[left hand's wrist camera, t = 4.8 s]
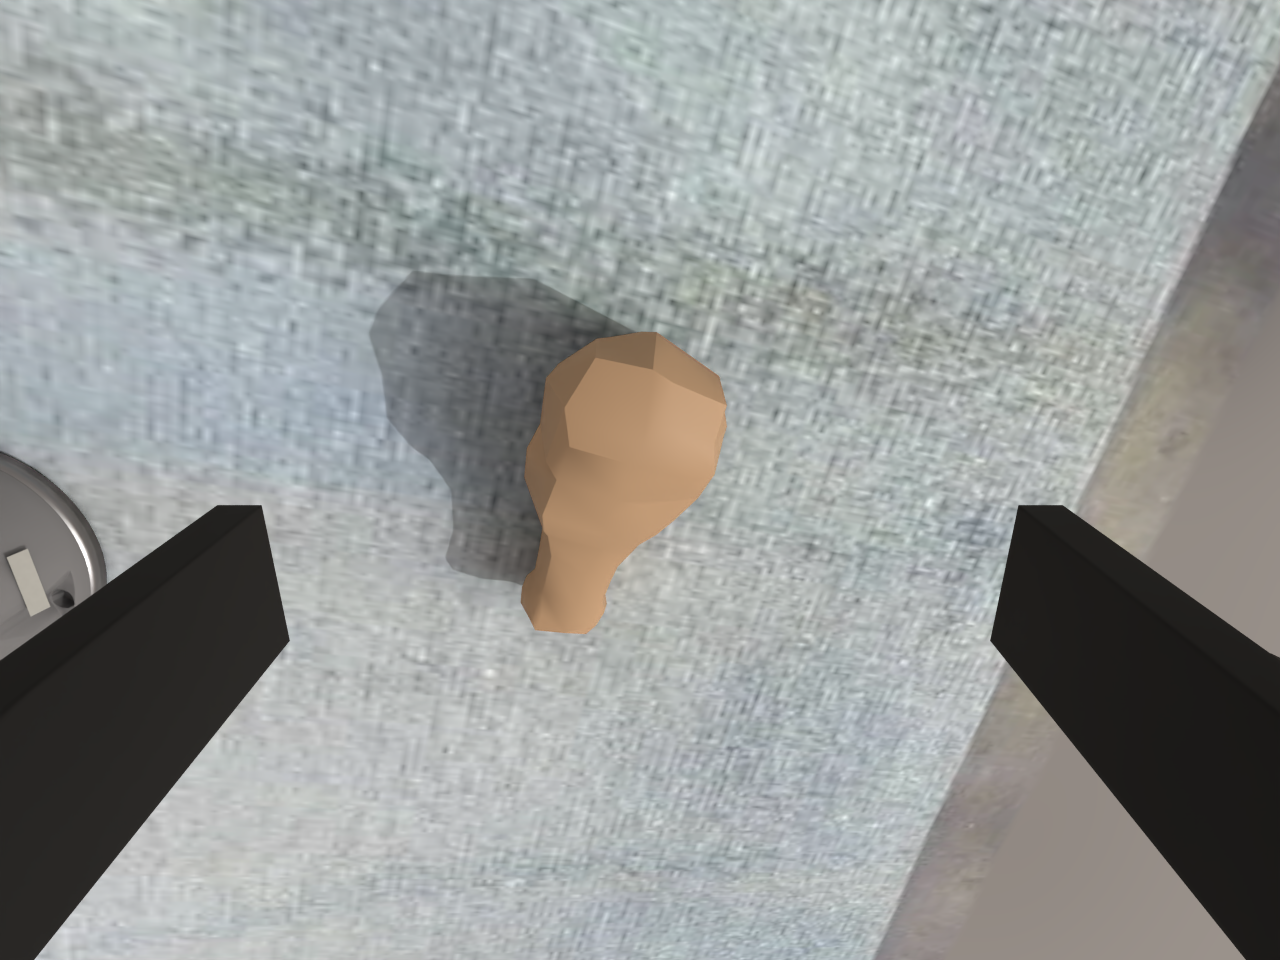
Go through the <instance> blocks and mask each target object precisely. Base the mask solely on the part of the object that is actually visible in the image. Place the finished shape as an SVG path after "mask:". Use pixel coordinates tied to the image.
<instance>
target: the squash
mask: <svg viewBox="0 0 1280 960" xmlns="http://www.w3.org/2000/svg"><path fill="white" fill-rule="evenodd" d="M726 406H727V405H726V401H725V397H724V393H723V390H722V386H721V382H720V378H719V376H718V375H717V374H715V373H714V372H712V371H711V370H710V369H708V368H707V367H705V366H704V365H702V364H701V363H700V362H698V361H697V360H695V359H694V358H693V357H691V356H690V355H688V354H687V353H685V352H684V351H683V350H681V349H680V348H678V347H677V346H676V345H674V344H673V343H671V342H670V341H668V340H667V339H666V338H664V337H663V336H661V335H660V334H658V333H657V332H637V333H631V334H625V335H619V336H614V337H607V338H598V339H596V340H594V341H593V342H591V343H589V344H588V345H586V346H585V347H583V348H582V349H580V350H579V351H577V352H576V353H574V354H573V355H571V356H570V357H568V358H566V359H565V360H563V361H562V362H560V363H559V364H558V365H557V366H556V367H555V368H554V370H553V371H552V372H551V373H550V374H549V375H548V376H547V378H546V382H545V390H544V398H543V405H542V413H541V421H540V425H539V427H538V428H537V430H536V432H535V434H534V436H533V438H532V440H531V442H530V443H529V445H528V447H527V453H526V464H525V475H524V478H525V481H526V484H527V486H528V489H529V492H530V495H531V497H532V500H533V503H534V506H535V509H536V511H537V514H538V517H539V520H540V523H541V525H542V534H541V541H540V546H539V551H538V556H537V561H536V566H535V569H534V570H533V571H532V572H530V573H529V574H528V575H527V576H526V579H525V581H524V584H523V586H522V594H521V604H522V606H523V607H524V609H525V611H526V613H527V615H528V617H529V618H530V620H531V622H532V624H533V626H534V628H535V630H540V631H550V632H561V633H578V634H586V633H588V632H589V631H590V630H591V629H592V628H593V627H595V626H596V625H597V623H598V621H599V620H600V618H601V616H602V615H603V613H604V611H605V607H606V604H607V603H606V597H605V593H606V591H607V588H608V586H609V584H610V581H611V579H612V577H613V575H614V573H615V571H616V569H617V567H618V566H619V565H620V564H621V562H622V561H623V560H624V559H625V558H626V557H627V556H628V555H629V554H630V553H631V552H632V551H633V550H634V549H635V548H636V547H637V546H638V545H639V544H641V543H643V542H644V541H646V540H648V539H650V538H651V537H653V536H655V535H657V534H658V533H659V532H660V531H661V530H663V529H664V528H665V527H666V526H668V525H669V524H670V523H671V522H673V521H674V520H675V519H676V518H677V517H678V516H679V515H680V514H681V513H682V512H683V511H685V510H686V509H687V508H688V507H689V506H690V505H691V504H692V503H693V502H694V501H695V500H696V499H697V498H698V497H699V496H700V494H701V493H702V491H703V490H704V489H705V487H706V486H707V484H708V483H709V482H710V480H711V479H712V477H713V476H714V474H715V470H716V466H717V462H718V458H719V454H720V449H721V445H722V441H723V437H724V434H725V430H726V427H727V425H726V418H725V409H726Z"/></svg>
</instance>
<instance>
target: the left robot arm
mask: <svg viewBox="0 0 1280 960" xmlns="http://www.w3.org/2000/svg"><path fill="white" fill-rule="evenodd" d="M289 641H290V640H289V635H288V630H287V625H286V620H285V616H284V611H283V606H282V601H281V596H280V592H279V587H278V582H277V577H276V572H275V568H274V563H273V558H272V553H271V548H270V544H269V539H268V534H267V529H266V524H265V520H264V515H263V510H262V505H217V506H216V507H214V508H213V509H211V510H210V511H209V512H207V513H206V514H204V515H203V516H202V517H200V518H199V519H197V520H196V521H195V522H193V523H192V524H190V525H189V526H188V527H186V528H185V529H183V530H182V531H181V532H179V533H178V534H176V535H175V536H174V537H172V538H171V539H169V540H168V541H167V542H165V543H164V544H162V545H161V546H160V547H158V548H157V549H155V550H154V551H153V552H151V553H150V554H148V555H147V556H146V557H144V558H143V559H141V560H140V561H139V562H137V563H136V564H134V565H133V566H132V567H130V568H129V569H127V570H126V571H125V572H123V573H122V574H120V575H119V576H118V577H116V578H115V579H113V580H112V581H111V582H109V583H108V584H107V574H106V565H105V561H104V556H103V553H102V550H101V547H100V544H99V542H98V540H97V537H96V535H95V533H94V531H93V530H92V528H91V526H90V524H89V523H88V521H87V520H86V518H85V517H84V515H83V514H82V513H81V511H80V510H79V509H78V508H77V506H76V505H75V504H74V503H73V502H72V501H71V500H70V499H69V498H68V497H67V495H66V494H65V493H63V492H62V491H61V490H60V489H59V488H58V487H57V486H56V485H55V484H53V483H52V482H51V481H49V480H48V479H47V478H46V477H44V476H43V475H41V474H40V473H38V472H37V471H35V470H34V469H32V468H31V467H29V466H27V465H25V464H24V463H22V462H20V461H18V460H16V459H14V458H12V457H9V456H7V455H4V454H2V453H0V960H34V959H35V958H36V957H37V955H38V954H39V953H40V952H41V950H42V949H43V948H44V947H45V945H46V944H47V943H48V942H49V940H50V939H51V938H52V937H53V935H54V934H55V933H56V932H57V930H58V929H59V928H60V927H61V926H62V924H63V923H64V922H65V921H66V919H67V918H68V917H69V916H70V914H71V913H72V912H73V911H74V909H75V908H76V907H77V906H78V904H79V903H80V902H81V901H82V899H83V898H84V897H85V896H86V894H87V893H88V892H89V891H90V889H91V888H92V887H93V886H94V884H95V883H96V882H97V881H98V879H99V878H100V877H101V876H102V874H103V873H104V872H105V871H106V869H107V868H108V867H109V866H110V864H111V863H112V862H113V861H114V859H115V858H116V857H117V856H118V854H119V853H120V852H121V851H122V849H123V848H124V847H125V846H126V844H127V843H128V842H129V841H130V839H131V838H132V837H133V836H134V834H135V833H136V832H137V831H138V829H139V828H140V827H141V826H142V824H143V823H144V822H145V821H146V819H147V818H148V817H149V816H150V814H151V813H152V812H153V811H154V809H155V808H156V807H157V806H158V804H159V803H160V802H161V801H162V799H163V798H164V797H165V796H166V794H167V793H168V792H169V791H170V789H171V788H172V787H173V786H174V784H175V783H176V782H177V781H178V779H179V778H180V777H181V776H182V774H183V773H184V772H185V771H186V769H187V768H188V767H189V766H190V764H191V763H192V762H193V761H194V759H195V758H196V757H197V756H198V755H199V753H200V752H201V751H202V750H203V748H204V747H205V746H206V745H207V743H208V742H209V741H210V740H211V738H212V737H213V736H214V735H215V733H216V732H217V731H218V730H219V728H220V727H221V726H222V725H223V723H224V722H225V721H226V720H227V718H228V717H229V716H230V715H231V713H232V712H233V711H234V710H235V708H236V707H237V706H238V705H239V703H240V702H241V701H242V700H243V698H244V697H245V696H246V695H247V693H248V692H249V691H250V690H251V688H252V687H253V686H254V685H255V683H256V682H257V681H258V680H259V678H260V677H261V676H262V675H263V673H264V672H265V671H266V670H267V668H268V667H269V666H270V665H271V663H272V662H273V661H274V660H275V658H276V657H277V656H278V655H279V653H280V652H281V651H282V650H283V648H284V647H285V646H286V645H287V643H288V642H289ZM990 641H991V642H992V643H993V645H994V646H995V647H996V648H997V650H998V651H999V652H1000V653H1001V655H1002V656H1003V657H1004V658H1005V660H1006V661H1007V662H1008V663H1009V665H1010V666H1011V667H1012V668H1013V670H1014V671H1015V672H1016V673H1017V675H1018V676H1019V677H1020V678H1021V680H1022V681H1023V682H1024V683H1025V685H1026V686H1027V687H1028V688H1029V690H1030V691H1031V692H1032V693H1033V695H1034V696H1035V697H1036V698H1037V700H1038V701H1039V702H1040V703H1041V705H1042V706H1043V707H1044V708H1045V710H1046V711H1047V712H1048V713H1049V715H1050V716H1051V717H1052V718H1053V720H1054V721H1055V722H1056V723H1057V725H1058V726H1059V727H1060V728H1061V730H1062V731H1063V732H1064V733H1065V735H1066V736H1067V737H1068V738H1069V739H1070V741H1071V742H1072V743H1073V744H1074V746H1075V747H1076V748H1077V750H1078V751H1079V752H1080V753H1081V755H1082V756H1083V757H1084V758H1085V759H1086V761H1087V762H1088V763H1089V764H1090V766H1091V767H1092V768H1093V769H1094V771H1095V772H1096V773H1097V774H1098V776H1099V777H1100V778H1101V779H1102V781H1103V782H1104V783H1105V784H1106V786H1107V787H1108V788H1109V789H1110V791H1111V792H1112V793H1113V794H1114V796H1115V797H1116V798H1117V799H1118V801H1119V802H1120V803H1121V804H1122V806H1123V807H1124V808H1125V809H1126V811H1127V812H1128V813H1129V814H1130V816H1131V817H1132V818H1133V819H1134V821H1135V822H1136V823H1137V824H1138V826H1139V827H1140V828H1141V829H1142V831H1143V832H1144V833H1145V834H1146V836H1147V837H1148V838H1149V839H1150V841H1151V842H1152V843H1153V844H1154V846H1155V847H1156V848H1157V849H1158V851H1159V852H1160V853H1161V854H1162V856H1163V857H1164V858H1165V859H1166V861H1167V862H1168V863H1169V864H1170V866H1171V867H1172V868H1173V869H1174V871H1175V872H1176V873H1177V874H1178V876H1179V877H1180V878H1181V879H1182V881H1183V882H1184V883H1185V884H1186V886H1187V887H1188V888H1189V889H1190V891H1191V892H1192V893H1193V894H1194V896H1195V897H1196V898H1197V899H1198V901H1199V902H1200V903H1201V904H1202V906H1203V907H1204V908H1205V909H1206V911H1207V912H1208V913H1209V914H1210V916H1211V917H1212V918H1213V919H1214V921H1215V922H1216V923H1217V924H1218V926H1219V927H1220V928H1221V929H1222V931H1223V932H1224V933H1225V934H1226V935H1227V937H1228V938H1229V939H1230V940H1231V942H1232V943H1233V944H1234V945H1235V947H1236V948H1237V949H1238V950H1239V952H1240V953H1241V954H1242V955H1243V957H1244V958H1245V959H1246V960H1280V658H1279V657H1277V656H1275V655H1273V654H1270V653H1269V652H1267V651H1266V650H1265V649H1263V648H1262V647H1260V646H1259V645H1258V644H1256V643H1255V642H1253V641H1252V640H1251V639H1249V638H1248V637H1246V636H1245V635H1244V634H1242V633H1241V632H1239V631H1238V630H1236V629H1235V628H1234V627H1232V626H1231V625H1230V624H1228V623H1227V622H1225V621H1224V620H1222V619H1221V618H1220V617H1218V616H1217V615H1216V614H1214V613H1213V612H1211V611H1210V610H1209V609H1207V608H1206V607H1204V606H1203V605H1202V604H1200V603H1199V602H1197V601H1196V600H1194V599H1193V598H1192V597H1190V596H1189V595H1188V594H1186V593H1185V592H1183V591H1182V590H1180V589H1179V588H1178V587H1176V586H1175V585H1173V584H1172V583H1171V582H1169V581H1168V580H1167V579H1165V578H1164V577H1162V576H1161V575H1159V574H1158V573H1157V572H1155V571H1154V570H1153V569H1151V568H1150V567H1148V566H1147V565H1146V564H1144V563H1143V562H1141V561H1140V560H1139V559H1137V558H1136V557H1134V556H1133V555H1132V554H1130V553H1129V552H1127V551H1126V550H1125V549H1123V548H1122V547H1120V546H1119V545H1118V544H1116V543H1115V542H1113V541H1112V540H1111V539H1109V538H1108V537H1106V536H1105V535H1104V534H1102V533H1101V532H1099V531H1098V530H1097V529H1095V528H1094V527H1092V526H1091V525H1090V524H1088V523H1087V522H1085V521H1084V520H1083V519H1081V518H1080V517H1078V516H1077V515H1076V514H1074V513H1073V512H1071V511H1070V510H1069V509H1067V508H1066V507H1064V506H1063V505H1018V510H1017V515H1016V520H1015V524H1014V529H1013V534H1012V539H1011V544H1010V548H1009V553H1008V558H1007V563H1006V568H1005V572H1004V577H1003V582H1002V587H1001V592H1000V596H999V601H998V606H997V611H996V616H995V620H994V625H993V630H992V635H991V640H990Z"/></svg>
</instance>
